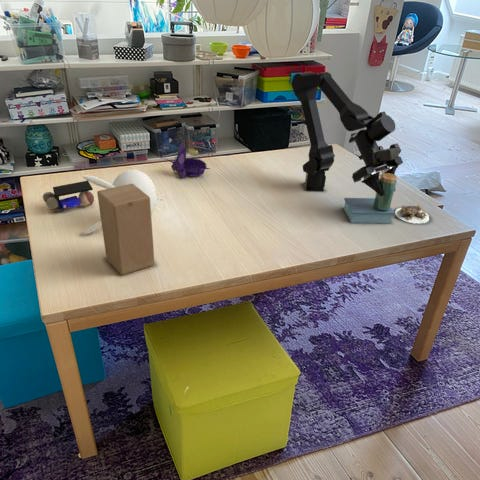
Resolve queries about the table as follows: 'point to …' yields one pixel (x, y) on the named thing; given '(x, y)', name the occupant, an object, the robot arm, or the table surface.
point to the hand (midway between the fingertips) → (388, 193)
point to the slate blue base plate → (366, 211)
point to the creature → (187, 164)
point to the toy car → (83, 198)
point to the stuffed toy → (124, 179)
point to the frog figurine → (412, 214)
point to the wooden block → (127, 228)
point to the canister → (385, 191)
